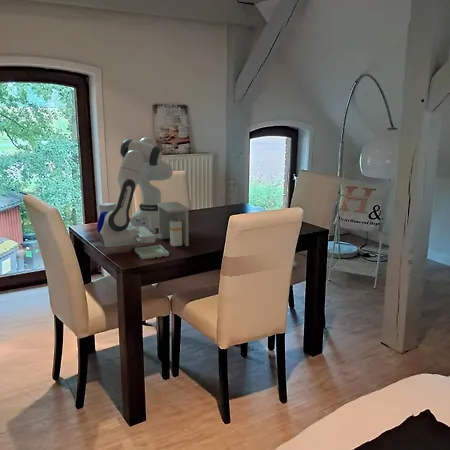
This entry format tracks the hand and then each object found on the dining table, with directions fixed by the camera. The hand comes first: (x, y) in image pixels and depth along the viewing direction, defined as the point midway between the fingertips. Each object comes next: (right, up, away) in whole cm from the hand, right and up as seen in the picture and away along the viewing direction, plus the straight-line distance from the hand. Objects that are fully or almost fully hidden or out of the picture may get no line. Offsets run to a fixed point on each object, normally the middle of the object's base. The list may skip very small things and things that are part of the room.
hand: (158, 233), depth 255 cm
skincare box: (-34, +1, +34) cm, 48 cm away
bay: (+7, -5, +9) cm, 13 cm away
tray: (-2, -10, -10) cm, 15 cm away
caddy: (+9, -6, +5) cm, 12 cm away
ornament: (-32, -3, +18) cm, 36 cm away
